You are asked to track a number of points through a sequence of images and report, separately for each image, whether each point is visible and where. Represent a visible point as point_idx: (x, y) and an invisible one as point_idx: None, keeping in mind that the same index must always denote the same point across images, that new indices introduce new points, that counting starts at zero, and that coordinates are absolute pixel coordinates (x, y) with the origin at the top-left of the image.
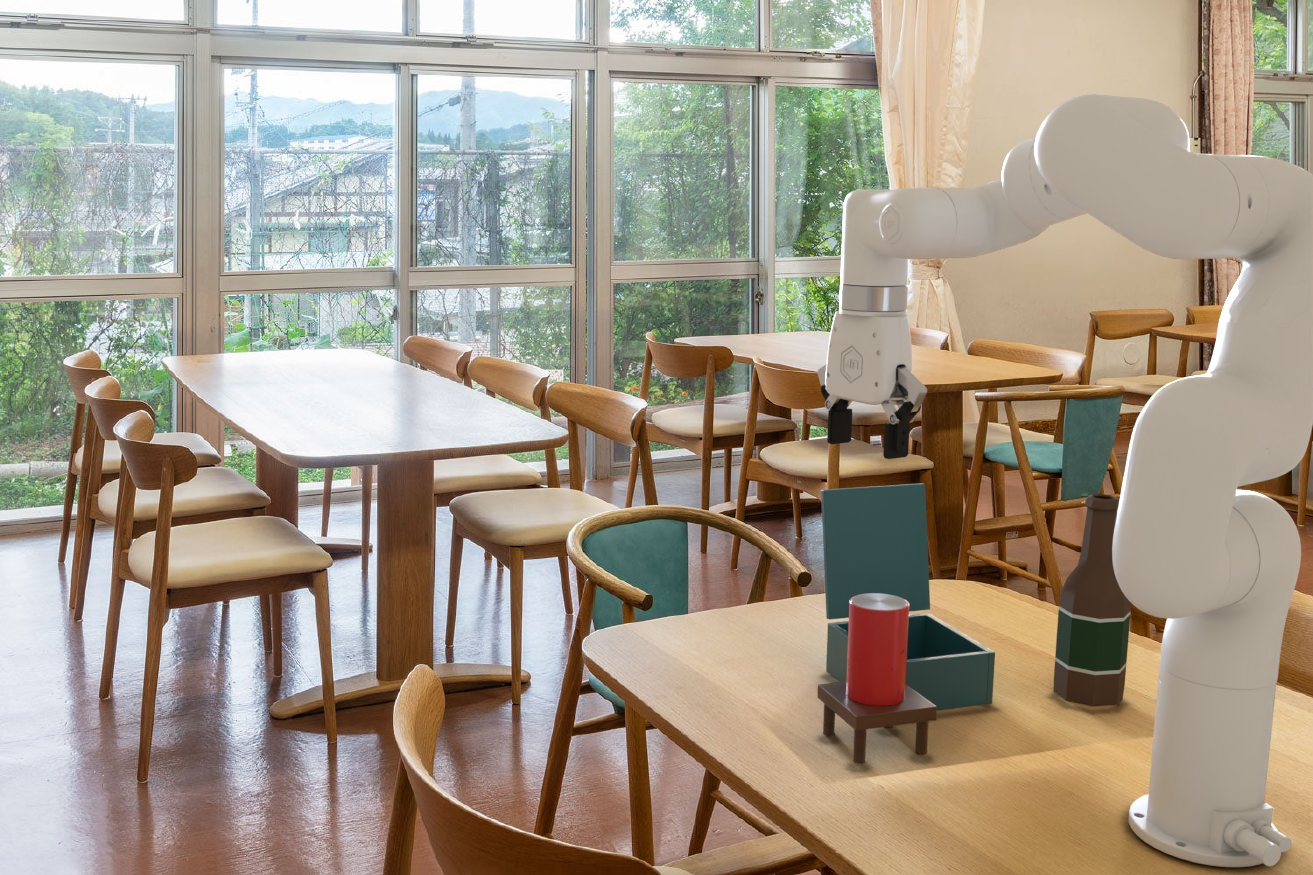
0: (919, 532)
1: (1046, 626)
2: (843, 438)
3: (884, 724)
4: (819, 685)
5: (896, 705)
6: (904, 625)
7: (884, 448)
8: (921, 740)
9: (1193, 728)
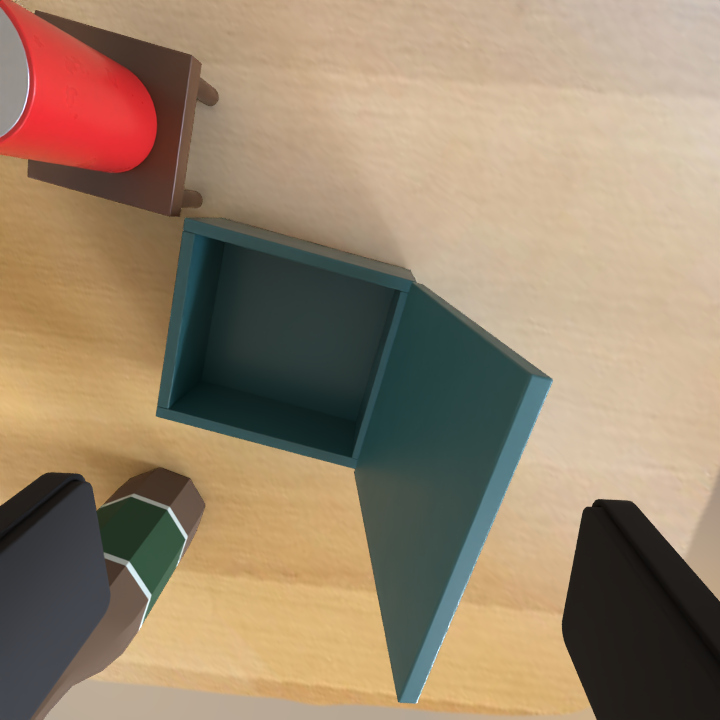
0: (380, 564)
1: (385, 655)
2: (581, 602)
3: None
4: (185, 53)
5: None
6: None
7: (29, 501)
8: None
9: None
